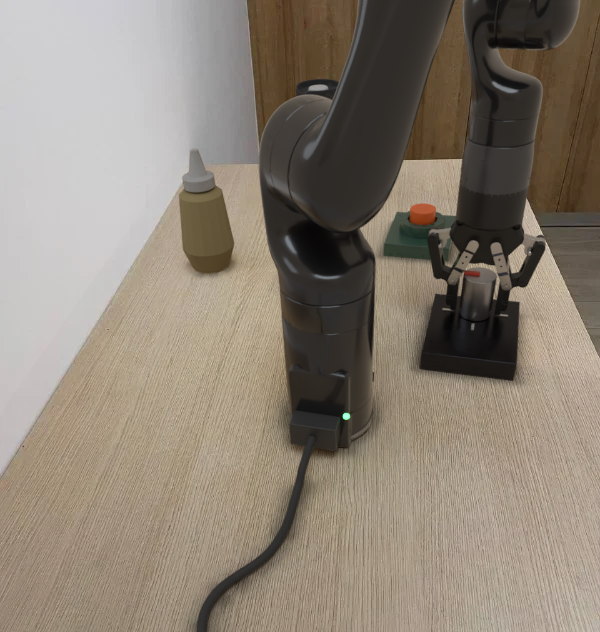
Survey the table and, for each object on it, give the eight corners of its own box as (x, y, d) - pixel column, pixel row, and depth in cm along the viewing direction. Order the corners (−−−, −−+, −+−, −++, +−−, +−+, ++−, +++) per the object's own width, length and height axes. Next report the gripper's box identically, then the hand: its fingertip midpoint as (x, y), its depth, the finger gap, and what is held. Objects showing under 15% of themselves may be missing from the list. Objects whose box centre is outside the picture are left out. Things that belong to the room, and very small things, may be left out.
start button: (433, 227, 100) (434, 214, 98) (407, 225, 101) (408, 212, 99) (436, 216, 103) (437, 204, 101) (411, 214, 104) (412, 202, 102)
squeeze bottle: (243, 271, 99) (229, 153, 88) (193, 282, 97) (172, 163, 86) (228, 249, 105) (213, 136, 94) (180, 260, 103) (159, 146, 92)
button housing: (447, 261, 98) (450, 237, 96) (383, 256, 101) (384, 232, 98) (455, 228, 107) (458, 205, 105) (396, 223, 109) (397, 201, 107)
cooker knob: (491, 306, 83) (498, 266, 80) (489, 323, 80) (496, 282, 77) (460, 303, 84) (465, 263, 81) (457, 319, 81) (462, 278, 78)
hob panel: (513, 381, 75) (517, 362, 74) (419, 369, 78) (421, 351, 76) (516, 317, 86) (520, 300, 84) (433, 308, 88) (435, 291, 87)
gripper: (425, 187, 70) (415, 318, 81) (563, 196, 67) (533, 332, 78) (434, 163, 76) (423, 289, 87) (562, 169, 72) (534, 300, 83)
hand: (475, 308), depth 82 cm, fingers open, 5 cm apart
